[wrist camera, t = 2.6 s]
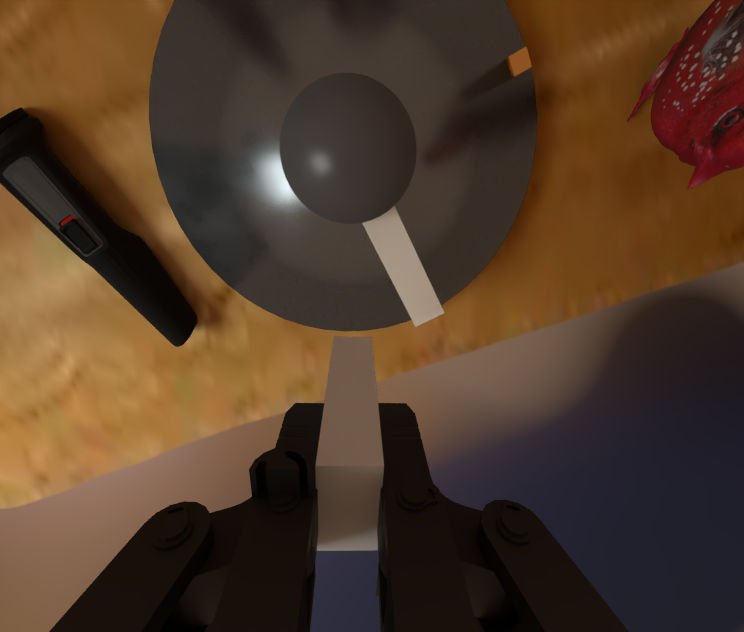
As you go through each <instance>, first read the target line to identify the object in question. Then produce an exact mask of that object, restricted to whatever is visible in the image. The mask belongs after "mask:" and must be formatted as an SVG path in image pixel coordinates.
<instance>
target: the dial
mask: <svg viewBox="0 0 744 632" xmlns="http://www.w3.org/2000/svg"><path fill="white" fill-rule="evenodd" d="M416 155H417V146H416V137H415V132H414V127H413V125H412V122H411V119H410V117H409V115H408V112H407V110H406V109H405V107H404V106H403V104H402V102H401V101H400V100H399V99H398V97H397V96H396V95H395V94H394V93H393V92H392V91H391V90H390V89H389V88H387V87H386V86H385V85H383V84H382V83H380V82H379V81H377V80H375V79H373V78H371V77H368V76H365V75H362V74H356V73H336V74H331V75H328V76H325V77H322V78H320V79H318V80H316V81H314V82H312V83H311V84H310V85H308V86H307V87H305V88H304V89H303V90H302V91H301V92H300V93H299V94H298V96H297V97H296V98H295V99H294V101H293V102H292V104H291V106H290V107H289V109H288V111H287V113H286V116H285V118H284V121H283V124H282V128H281V134H280V159H281V164H282V168H283V171H284V174H285V177H286V180H287V182H288V184H289V186H290V188H291V189H292V191H293V192H294V194H295V195H296V196H297V198H298V199H299V200H300V201H301V202H302V203H303V204H304V205H305V206H306V207H307V208H308V209H309V210H311V211H312V212H314V213H315V214H317V215H319V216H320V217H322V218H324V219H327V220H330V221H333V222H337V223H343V224H357V223H362V224H363V226H364V228H365V230H366V232H367V234H368V235H369V237H370V239H371V241H372V243H373V245H374V247H375V249H376V251H377V253H378V255H379V257H380V259H381V261H382V263H383V265H384V267H385V269H386V271H387V273H388V274H389V276H390V278H391V280H392V282H393V284H394V286H395V288H396V290H397V292H398V294H399V296H400V298H401V300H402V302H403V304H404V306H405V308H406V310H407V311H408V313H409V315H410V317H411V319H412V321H413V323H414V325H415V327H417V326H419V325H421V324H423V323H425V322H427V321H429V320H431V319H433V318H435V317H437V316H439V315H441V314H444V311H443V309H442V307H441V305H440V302H439V300H438V298H437V296H436V294H435V292H434V290H433V287H432V285H431V283H430V281H429V279H428V277H427V275H426V272H425V270H424V268H423V266H422V264H421V262H420V260H419V257H418V255H417V253H416V251H415V249H414V247H413V245H412V242H411V240H410V238H409V236H408V234H407V232H406V230H405V227H404V225H403V223H402V221H401V219H400V217H399V215H398V212H397V210H396V208H395V206H394V205H395V204H396V203H397V202H398V201H399V200H400V199H401V197H402V196H403V195H404V193H405V191H406V190H407V188H408V186H409V184H410V181H411V179H412V176H413V173H414V169H415V164H416Z"/></svg>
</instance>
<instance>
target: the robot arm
mask: <svg viewBox="0 0 744 632" xmlns="http://www.w3.org/2000/svg"><path fill="white" fill-rule="evenodd" d="M249 472H250V481H251V490H252V497H251V498H250V499H248V500H246V501H245V502H243V503H241V504H238V505H236V506H233V507H230V508H227V509H223V510H220V511H216V512H213V513H209V512H208V510H207V509H206V507H205V506H203V505H201V504H199V503H197V502H181V503H177V504H174V505H170V506H169V507H166V508H165V509H163V510H161V511H159V512H157V513H156V514H155V515H154V516H152V517H151V518H150V519H149V520H148V521H147V522H146V523H144V525H143V526H142V527H141V528H140V529H139V530H138V531H137V533H136V534H135V535H134V536H133V537H132V538H131V539H130V540H129V542H128V543H127V544H126V545H125V546H124V547H123V549H122V550H121V551H120V552H119V553H118V554H117V555H116V557H115V558H114V559H113V560H112V561H111V562H110V563H109V564H108V566H107V567H106V568H105V569H104V570H103V571H102V572H101V573H100V575H99V576H98V577H97V578H96V579H95V580H94V581H93V583H92V584H91V585H90V586H89V587H88V588H87V589H86V591H85V592H84V593H83V594H82V595H81V596H80V597H79V599H78V600H77V601H76V602H75V603H74V604H73V605H72V606H71V608H70V609H69V610H68V611H67V612H66V613H65V614H64V616H63V617H62V618H61V619H60V620H59V621H58V622H57V623H56V625H55V626H54V627H53V628H52V629H51V630H50V632H310V626H311V616H312V606H313V596H314V585H315V558H316V550H317V551H329V550H330V551H334V550H335V551H339V550H377V549H378V554H379V564H378V576H377V588H376V596H379V614H380V632H629V631H628V630H627V629H626V628H625V626H624V625H623V624H622V622H621V621H620V620H619V619H618V618H617V616H616V615H615V614H614V612H613V611H612V610H611V609H610V607H609V606H608V605H607V604H606V603H605V601H604V600H603V598H602V597H601V596H600V595H599V593H598V592H597V591H596V590H595V588H594V587H593V586H592V585H591V583H590V582H589V581H588V580H587V578H586V577H585V576H584V574H583V573H582V572H581V571H580V569H579V568H578V567H577V566H576V564H575V563H574V562H573V561H572V559H571V558H570V557H569V556H568V554H567V553H566V552H565V550H564V549H563V548H562V547H561V545H560V544H559V543H558V542H557V540H556V539H555V538H554V537H553V536H552V534H551V533H550V532H549V530H548V529H547V528H546V526H545V525H544V524H543V523H542V521H541V520H540V519H539V518H538V517H537V516H536V515H535V514H534V513H533V512H531V511H530V510H529V509H527V508H526V507H524V506H522V505H520V504H519V503H515V502H512V501H508V500H495V501H492V502H491V503H488V504H487V505H486V506H485V508H484V509H483V511H480V510H477V509H473V508H470V507H466V506H463V505H460V504H458V503H455V502H453V501H451V500H449V499H448V498H446V497H445V496H444V495H443V494H441V493H440V491H439V489H438V488H437V487H436V486H435V485H434V484H433V482H432V479H431V476H430V472H429V468H428V465H427V460H426V456H425V452H424V448H423V444H422V440H421V437H420V432H419V429H418V424H417V420H416V416H415V413H414V412H413V411H412V410H411V409H410V407H409V406H408V405H407V404H404V403H403V404H402V403H397V404H396V403H378V398H377V388H376V376H375V366H374V355H373V345H372V337H336V336H334V339H333V346H332V353H331V360H330V367H329V374H328V381H327V388H326V395H325V402H324V403H295V404H294V405H293V406H292V407H291V408H290V409H289V410H288V411H287V412H286V414H285V417H284V421H283V424H282V428H281V430H280V434H279V438H278V440H277V444H276V447H275V448H274V449H272V450H270V451H267V452H265V453H263V454H262V455H261V456H260V457H258V458H257V459H256V460H255V461H254V462H253V464H252V466H251V467H250V469H249Z"/></svg>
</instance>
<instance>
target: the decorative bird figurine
mask: <svg viewBox="0 0 744 632" xmlns="http://www.w3.org/2000/svg"><path fill="white" fill-rule="evenodd" d="M656 88H657V89H656ZM655 89H656V92H655V96H654V100H653V104H652V109H651V123H652V129H653V132H654V134H655V136H656V137H657V138H658V140H659V141H660V143H661V144H662V145H663V146H665V147H666V148H668V149H670V150H672V151H674V153H676V154H677V155H678V156H679V160H680V161H681V162H684V163H687V164H689V165H692V166H696V168H695V171H694V173H693V176H692V178H691V180H690V182H689V185H688V187H687V188H686V189H689V188H692V187H694V186H696V185H698V184H701V183H704V182H705V181H707V180H709V179H710V178H712V177H714V176H716V175H718V174H720V173H722V172H724V171H728V170H732V169H737V168H740V167H744V0H715V1H714V2H713V3H712V4H711V5H710V6H709V7H708V8H707V9H706V10H705V12H704V13H703V14H702V15H701V16H700V18H699V19H698V20H697V21H696V23H695V24H694V25H693V27H692V28H691V29H690V31H689V28H687V29H686V30H685V33H684V36H683V38H682V40H681V41H680V42H679V43H676V44H675V45H674V46H673V47H672V49H671V50H670V52H669V54H668V55H667V56H666V57H665V58H664V59H663V60H662V61H661V63H660V64H659V66H658V68H657V69H656V71H655V72H654V73H653V74H652V75H651V76H650V78H649V79H648V81H647V82H646V84H645V85H644V87H643V89H642V90H641V96H640V98H639V101H638V103H637V104H636V106H635V108H634V110H633V112H632V113H631V115H630V117H629V118H628V120H627V122H628V121H629V120H630V119H631V118H632V117H633V116H634V115H635V113H636V112H637V110H638V108H639V107H640V105H641V104H642V102H643V101H644V100H645V99H646V98H647V97H649V96H650V95H651V94H652V93H653V92H654V91H655Z"/></svg>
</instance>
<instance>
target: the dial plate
mask: <svg viewBox="0 0 744 632" xmlns="http://www.w3.org/2000/svg"><path fill="white" fill-rule="evenodd" d="M531 67H532V65H531V61H530V57H529V54H528V50H527V46H526V47H525V46H524V43H523V40H522V37H521V34H520V31H519V28H518V26H517V24H516V22H515V20H514V18H513V16H512V14H511V12H510V10H509V8H508V6H507V4H506V2H505V0H174V3H173V5H172V7H171V10H170V12H169V14H168V16H167V19H166V21H165V23H164V26H163V28H162V31H161V35H160V38H159V42H158V45H157V49H156V53H155V56H154V61H153V68H152V75H151V83H150V97H149V122H150V131H151V140H152V148H153V153H154V157H155V161H156V166H157V170H158V174H159V178H160V180H161V183H162V186H163V189H164V192H165V194H166V197H167V200H168V203H169V205H170V207H171V209H172V211H173V213H174V215H175V217H176V219H177V221H178V223H179V225H180V227H181V228H182V230H183V231H184V233H185V234H186V236H187V238H188V239H189V241H190V242H191V244H192V245H193V247H194V248H195V250H196V251H197V252H198V253H199V254H200V256H201V257H202V258H203V259H204V261H205V262H206V263H207V264H208V265H209V267H210V268H211V269H212V270H213V271H214V272H215V273H216V274H217V275H218V276H219V277H221V278H222V279H223V280H224V281H225V282H226V283H227V284H228V285H229V286H230V287H232V288H233V289H234V290H236V291H237V292H238V293H239V294H241V295H242V296H243V297H245V298H246V299H248V300H249V301H251V302H253V303H254V304H256V305H258V306H259V307H261V308H263V309H264V310H266V311H268V312H271V313H273V314H275V315H277V316H279V317H281V318H284V319H286V320H289V321H293V322H296V323H299V324H302V325H305V326H310V327H315V328H320V329H325V330H337V331H364V330H372V329H378V328H385V327H389V326H393V325H396V324H400V323H403V322H407V321H409V320H411V317H410V315H409V313H408V311H407V310H406V308H405V306H404V304H403V302H402V300H401V298H400V296H399V294H398V292H397V290H396V288H395V286H394V284H393V282H392V280H391V278H390V276H389V274H388V273H387V271H386V269H385V267H384V265H383V263H382V261H381V259H380V257H379V255H378V253H377V251H376V249H375V247H374V245H373V243H372V241H371V239H370V237H369V235H368V234H367V232H366V230H365V228H364V226H363V224H362V223H357V224H343V223H337V222H333V221H330V220H327V219H324V218H322V217H320V216H319V215H317V214H315V213H314V212H312V211H311V210H309V209H308V208H307V207H306V206H305V205H304V204H303V203H302V202H301V201H300V200H299V199H298V198H297V196H296V195H295V194H294V192H293V191H292V189H291V188H290V186H289V184H288V182H287V180H286V177H285V174H284V171H283V168H282V164H281V159H280V134H281V128H282V124H283V121H284V118H285V116H286V113H287V111H288V109H289V107H290V106H291V104H292V102H293V101H294V99H295V98H296V97H297V96H298V94H299V93H300V92H301V91H302V90H303V89H304V88H305V87H307V86H308V85H310V84H311V83H312V82H314V81H316V80H318V79H320V78H322V77H325V76H328V75H331V74H336V73H356V74H362V75H365V76H368V77H371V78H373V79H375V80H377V81H379V82H380V83H382V84H383V85H385V86H386V87H387V88H389V89H390V90H391V91H392V92H393V93H394V94H395V95H396V96H397V97H398V99H399V100H400V101H401V102H402V104H403V106H404V107H405V109H406V110H407V112H408V115H409V117H410V119H411V122H412V125H413V127H414V132H415V137H416V146H417V155H416V164H415V169H414V173H413V176H412V179H411V181H410V184H409V186H408V188H407V190H406V191H405V193H404V195H403V196H402V197H401V199H400V200H399V201H398V202H397V203H396V204H395V205H394V206H395V208H396V210H397V212H398V215H399V217H400V219H401V221H402V223H403V225H404V227H405V230H406V232H407V234H408V236H409V238H410V240H411V242H412V245H413V247H414V249H415V251H416V253H417V255H418V257H419V260H420V262H421V264H422V266H423V268H424V270H425V272H426V275H427V277H428V279H429V281H430V283H431V285H432V287H433V290H434V292H435V294H436V296H437V298H438V300H439V302H440V305H442V304H443V303H445V302H446V301H448V300H449V299H450V298H452V297H453V296H454V295H456V294H457V293H459V292H460V291H461V290H462V289H463V288H464V287H466V286H467V285H468V284H469V283H470V282H471V281H472V280H473V279H474V278H475V277H476V276H477V275H478V274H479V273H480V272H481V271H482V270H483V268H484V267H485V266H486V265H487V264H488V263H489V261H490V260H491V259H492V258H493V256H494V255H495V253H496V252H497V250H498V249H499V248H500V246H501V245H502V243H503V242H504V240H505V239H506V237H507V235H508V233H509V231H510V229H511V227H512V225H513V223H514V221H515V219H516V217H517V215H518V212H519V210H520V207H521V205H522V202H523V199H524V197H525V194H526V191H527V187H528V183H529V179H530V175H531V172H532V167H533V160H534V153H535V146H536V126H537V111H536V99H535V88H534V82H533V77H532V72H531Z"/></svg>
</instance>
